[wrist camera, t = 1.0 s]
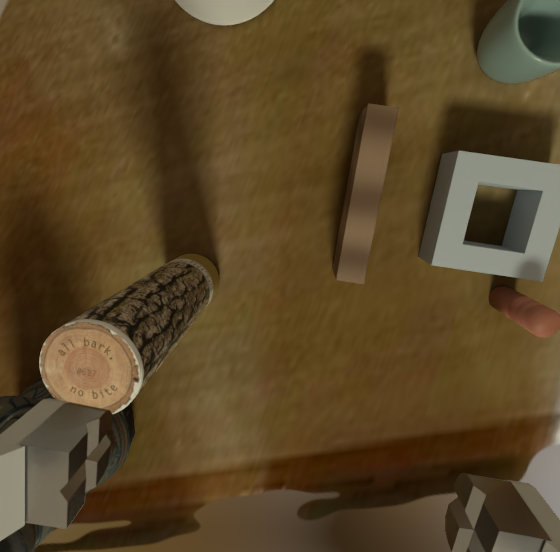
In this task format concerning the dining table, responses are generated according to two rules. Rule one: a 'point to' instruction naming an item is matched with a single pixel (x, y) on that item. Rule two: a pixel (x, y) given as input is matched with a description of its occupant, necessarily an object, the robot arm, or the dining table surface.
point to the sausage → (525, 311)
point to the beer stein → (22, 542)
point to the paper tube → (127, 335)
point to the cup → (521, 41)
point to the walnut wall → (364, 191)
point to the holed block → (521, 226)
